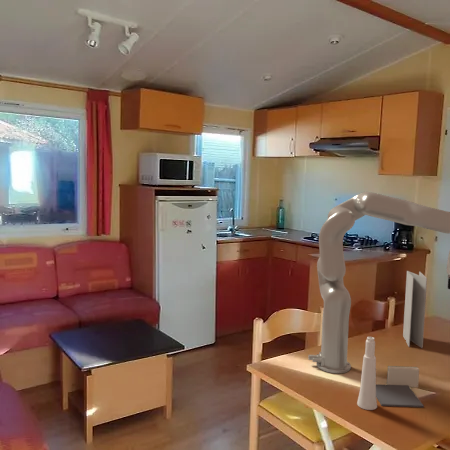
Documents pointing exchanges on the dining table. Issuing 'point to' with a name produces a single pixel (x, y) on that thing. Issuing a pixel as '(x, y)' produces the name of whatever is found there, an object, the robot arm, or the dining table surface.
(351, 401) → the dining table surface
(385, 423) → the dining table surface
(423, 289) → the brochure
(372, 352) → the cosmetic bottle
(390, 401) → the mat
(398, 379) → the tile
